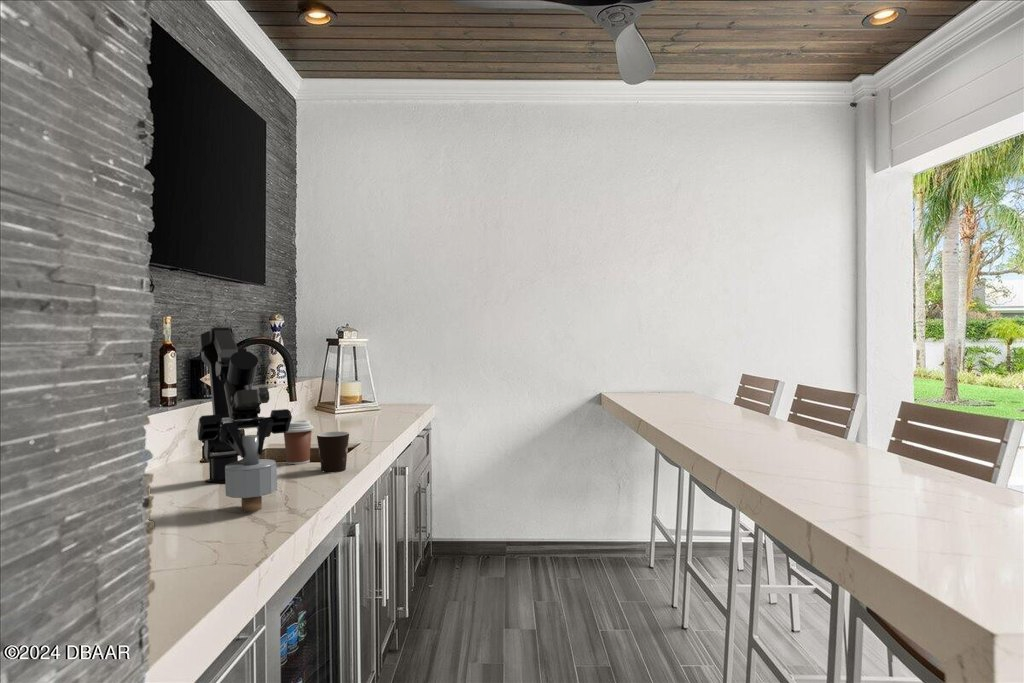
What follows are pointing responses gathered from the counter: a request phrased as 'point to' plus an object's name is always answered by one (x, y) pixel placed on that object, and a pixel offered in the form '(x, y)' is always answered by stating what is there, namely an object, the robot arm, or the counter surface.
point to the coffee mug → (333, 450)
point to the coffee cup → (298, 442)
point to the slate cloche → (250, 473)
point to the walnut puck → (251, 504)
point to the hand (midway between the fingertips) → (252, 455)
